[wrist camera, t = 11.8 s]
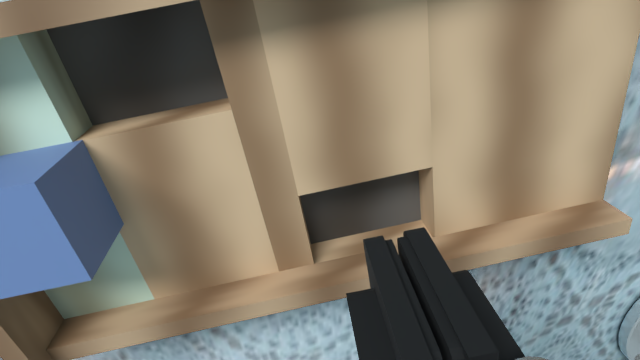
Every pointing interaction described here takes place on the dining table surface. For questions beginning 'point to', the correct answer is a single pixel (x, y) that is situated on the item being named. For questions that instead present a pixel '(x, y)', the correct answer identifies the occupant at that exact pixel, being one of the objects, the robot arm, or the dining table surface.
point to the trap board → (307, 145)
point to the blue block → (52, 219)
